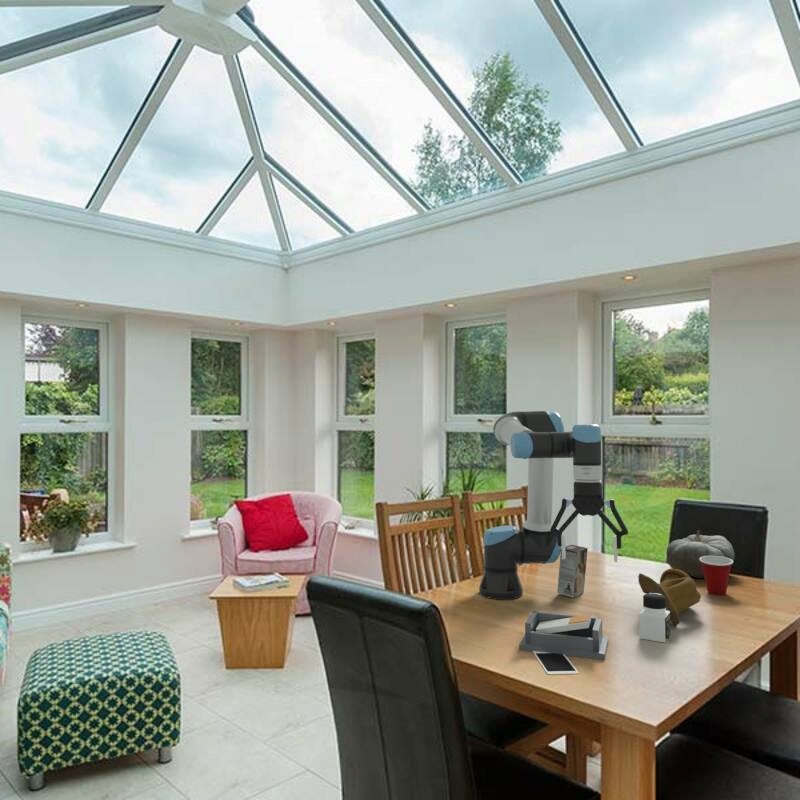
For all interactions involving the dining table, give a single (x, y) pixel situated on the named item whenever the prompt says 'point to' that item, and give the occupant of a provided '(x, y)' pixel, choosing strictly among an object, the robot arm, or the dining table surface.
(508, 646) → the dining table surface
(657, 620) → the medicine bottle
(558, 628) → the rocker
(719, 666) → the dining table surface
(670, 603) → the brown cowboy hat
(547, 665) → the cell phone
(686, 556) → the gourd
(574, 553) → the coffee box
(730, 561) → the plastic cup
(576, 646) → the box
